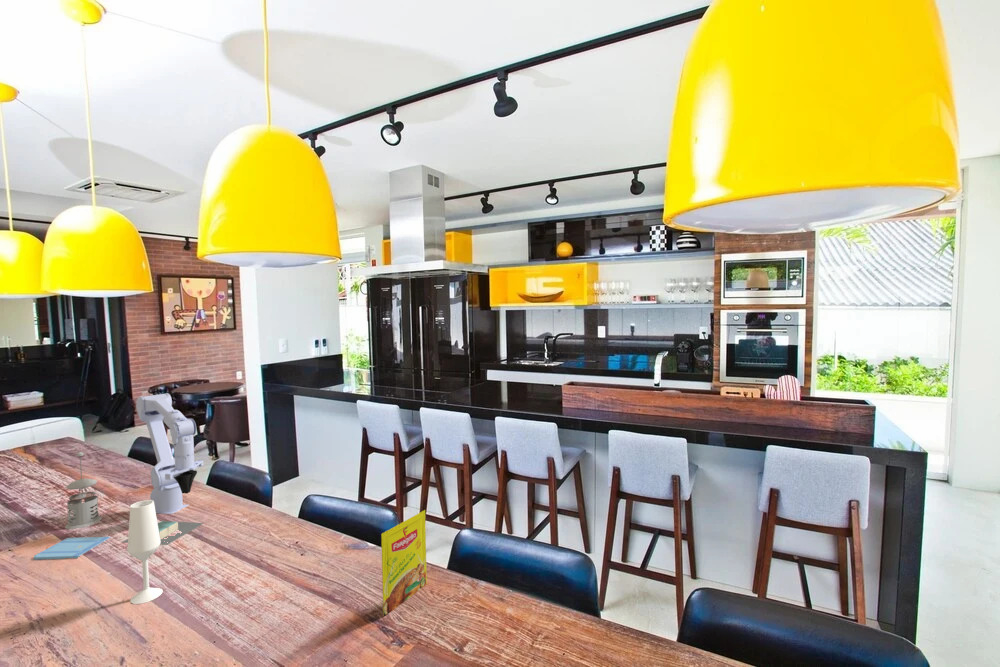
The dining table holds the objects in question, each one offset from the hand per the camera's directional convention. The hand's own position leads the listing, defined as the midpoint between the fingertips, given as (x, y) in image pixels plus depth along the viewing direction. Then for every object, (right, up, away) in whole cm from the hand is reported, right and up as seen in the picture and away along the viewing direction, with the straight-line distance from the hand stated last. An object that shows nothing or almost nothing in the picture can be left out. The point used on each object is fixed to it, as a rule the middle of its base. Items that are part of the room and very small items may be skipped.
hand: (186, 492), depth 163 cm
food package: (+87, -11, -48) cm, 100 cm away
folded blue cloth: (-22, -11, -20) cm, 31 cm away
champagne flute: (+20, -11, -45) cm, 50 cm away
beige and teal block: (0, -8, -9) cm, 12 cm away
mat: (0, -10, -11) cm, 15 cm away
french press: (-35, -10, -1) cm, 37 cm away
